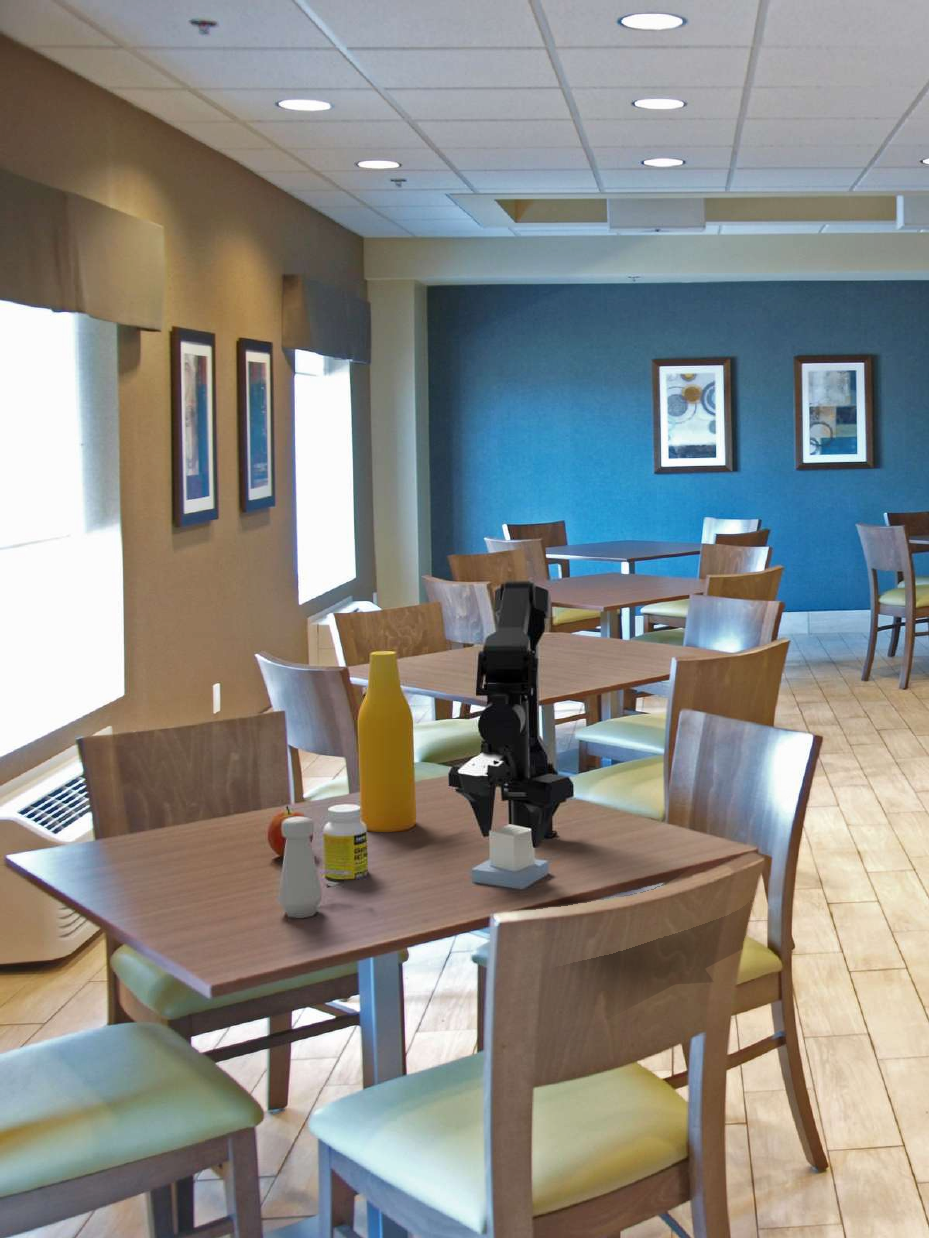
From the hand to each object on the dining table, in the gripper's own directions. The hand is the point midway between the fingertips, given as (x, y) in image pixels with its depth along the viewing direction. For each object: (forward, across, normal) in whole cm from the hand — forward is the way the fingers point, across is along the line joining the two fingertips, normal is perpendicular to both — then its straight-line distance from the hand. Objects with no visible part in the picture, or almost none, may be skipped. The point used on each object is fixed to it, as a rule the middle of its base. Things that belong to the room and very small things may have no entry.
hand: (510, 841), depth 193 cm
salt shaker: (+7, -15, -26) cm, 31 cm away
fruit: (+7, -37, -9) cm, 39 cm away
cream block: (+3, 0, 0) cm, 3 cm away
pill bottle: (+7, -20, -13) cm, 25 cm away
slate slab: (+5, 0, 0) cm, 5 cm away
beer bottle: (+7, -38, +13) cm, 41 cm away
